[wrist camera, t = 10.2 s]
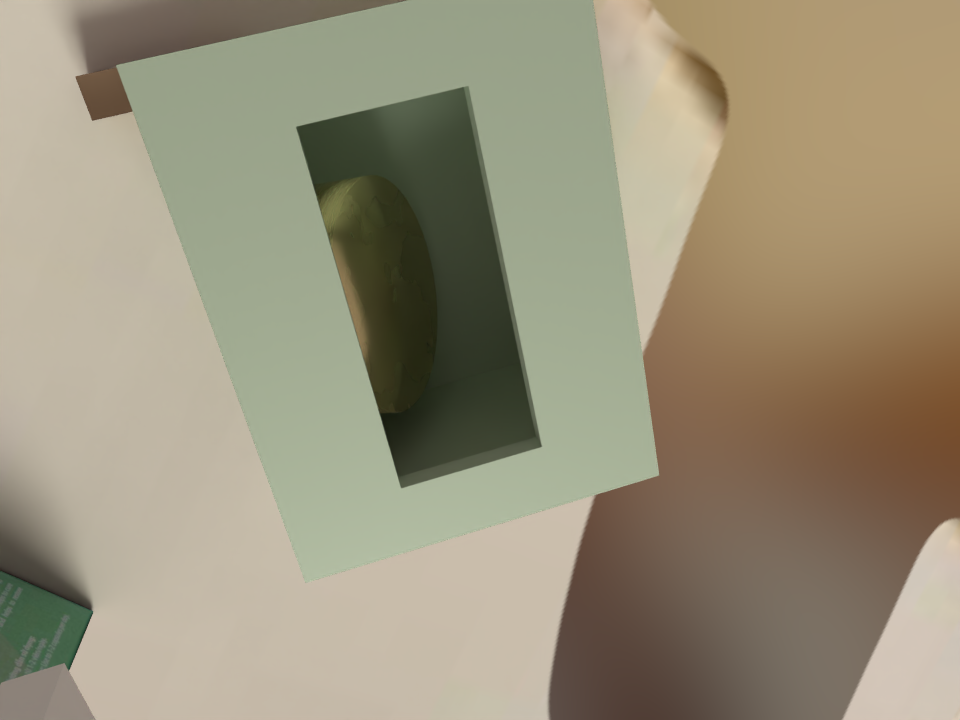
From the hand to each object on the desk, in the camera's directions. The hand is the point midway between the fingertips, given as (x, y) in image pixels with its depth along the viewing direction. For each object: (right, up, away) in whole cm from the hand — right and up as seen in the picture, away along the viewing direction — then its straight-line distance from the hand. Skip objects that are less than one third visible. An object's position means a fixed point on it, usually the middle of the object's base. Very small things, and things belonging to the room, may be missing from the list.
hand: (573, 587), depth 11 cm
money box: (-5, +9, +24) cm, 27 cm away
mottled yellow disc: (-5, +6, +24) cm, 25 cm away
